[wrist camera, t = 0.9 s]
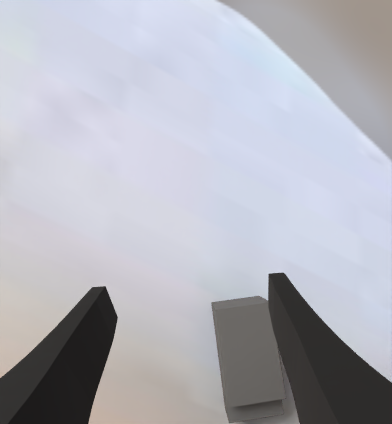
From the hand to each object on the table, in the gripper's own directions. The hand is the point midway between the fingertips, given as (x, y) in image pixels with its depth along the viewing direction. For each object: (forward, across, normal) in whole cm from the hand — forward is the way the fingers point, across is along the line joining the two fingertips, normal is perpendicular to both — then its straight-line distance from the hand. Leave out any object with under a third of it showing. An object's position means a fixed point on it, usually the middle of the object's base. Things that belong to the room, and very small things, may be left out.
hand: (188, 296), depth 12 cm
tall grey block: (+8, -3, +17) cm, 19 cm away
